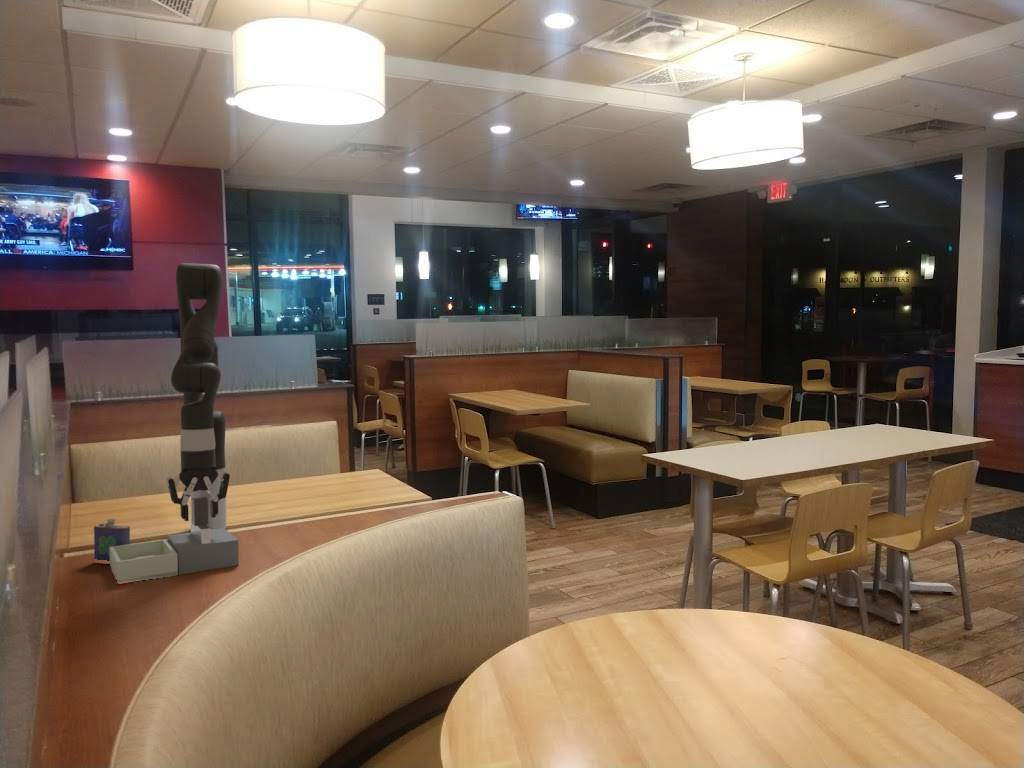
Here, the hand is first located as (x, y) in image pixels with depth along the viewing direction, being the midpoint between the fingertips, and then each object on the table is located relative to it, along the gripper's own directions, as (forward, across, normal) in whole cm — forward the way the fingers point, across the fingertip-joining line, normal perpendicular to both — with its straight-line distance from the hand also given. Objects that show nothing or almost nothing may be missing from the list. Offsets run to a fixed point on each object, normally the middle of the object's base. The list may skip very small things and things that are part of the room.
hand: (199, 518), depth 177 cm
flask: (+11, +18, -12) cm, 24 cm away
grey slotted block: (+11, 0, 0) cm, 11 cm away
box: (+11, +12, 0) cm, 16 cm away
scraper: (+5, 0, +1) cm, 5 cm away
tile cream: (+8, +11, -3) cm, 15 cm away
